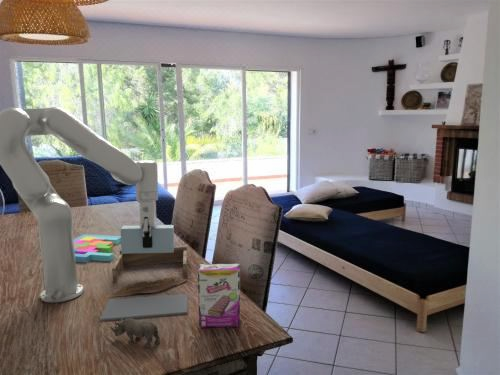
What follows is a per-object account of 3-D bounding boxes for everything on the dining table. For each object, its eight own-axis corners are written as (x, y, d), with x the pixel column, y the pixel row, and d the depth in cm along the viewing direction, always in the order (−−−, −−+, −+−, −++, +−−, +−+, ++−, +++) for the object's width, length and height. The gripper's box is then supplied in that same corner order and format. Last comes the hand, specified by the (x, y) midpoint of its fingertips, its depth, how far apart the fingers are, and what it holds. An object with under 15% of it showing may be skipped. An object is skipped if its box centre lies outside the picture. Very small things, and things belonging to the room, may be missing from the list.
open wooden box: (186, 277, 141) (186, 261, 140) (112, 282, 137) (111, 265, 136) (187, 260, 157) (186, 245, 156) (121, 264, 154) (120, 249, 153)
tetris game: (43, 260, 160) (106, 265, 155) (42, 254, 160) (105, 258, 154) (85, 240, 188) (139, 243, 182) (84, 234, 187) (139, 237, 181)
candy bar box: (199, 328, 106) (196, 270, 103) (200, 319, 111) (198, 263, 108) (241, 327, 106) (239, 269, 104) (240, 318, 111) (239, 262, 109)
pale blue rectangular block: (173, 252, 143) (172, 228, 141) (121, 253, 140) (120, 228, 139) (174, 248, 147) (173, 224, 146) (123, 249, 145) (123, 225, 143)
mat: (187, 313, 114) (187, 311, 114) (100, 320, 111) (100, 318, 111) (187, 295, 126) (187, 293, 126) (109, 301, 123) (108, 299, 123)
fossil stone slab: (182, 276, 142) (182, 273, 142) (191, 288, 132) (190, 285, 132) (106, 290, 132) (106, 287, 132) (109, 304, 122) (109, 300, 122)
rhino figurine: (116, 332, 105) (114, 311, 104) (163, 340, 101) (161, 318, 100) (106, 341, 101) (104, 319, 100) (154, 349, 97) (153, 327, 96)
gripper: (155, 199, 133) (157, 252, 136) (159, 191, 149) (160, 238, 152) (132, 200, 132) (134, 253, 135) (139, 191, 148) (140, 239, 151)
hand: (148, 244), depth 143 cm, fingers closed on pale blue rectangular block, 4 cm apart
